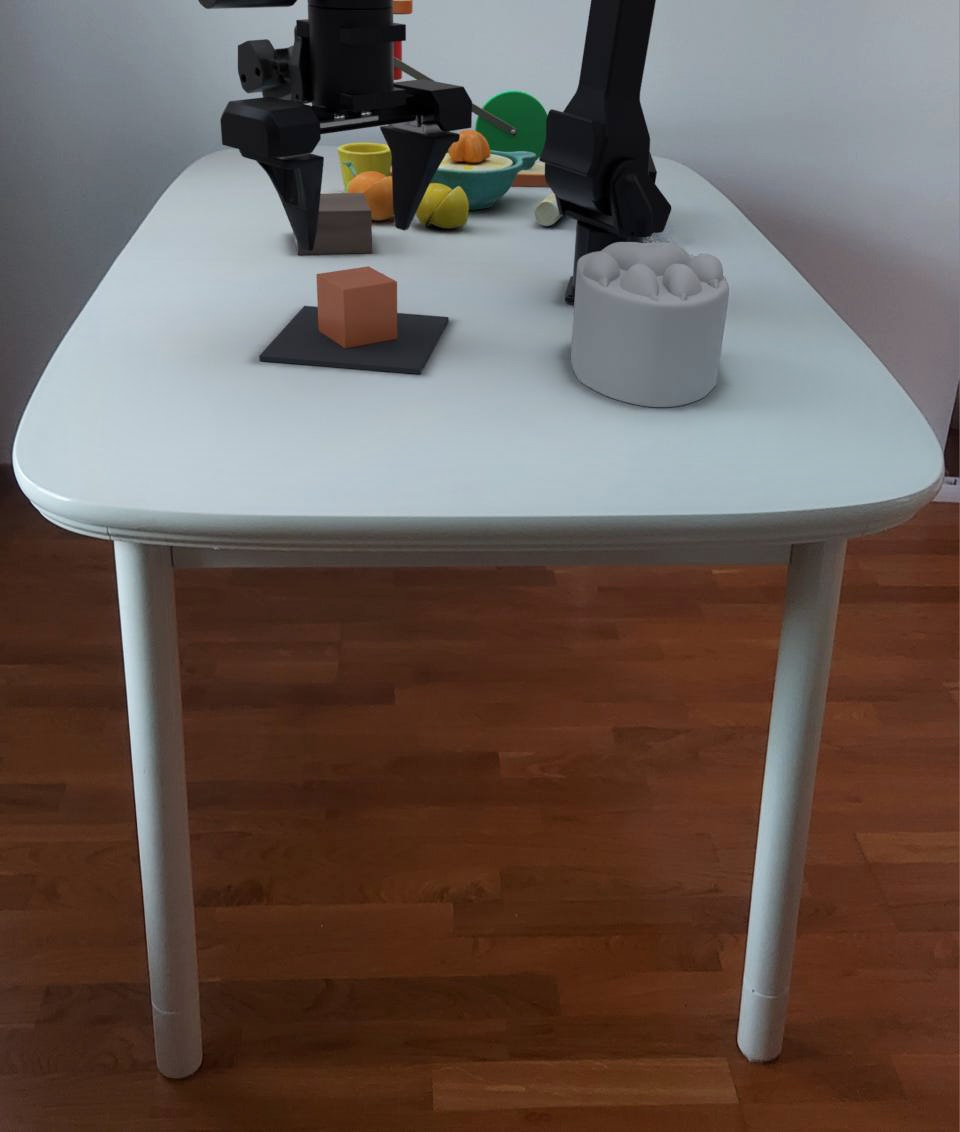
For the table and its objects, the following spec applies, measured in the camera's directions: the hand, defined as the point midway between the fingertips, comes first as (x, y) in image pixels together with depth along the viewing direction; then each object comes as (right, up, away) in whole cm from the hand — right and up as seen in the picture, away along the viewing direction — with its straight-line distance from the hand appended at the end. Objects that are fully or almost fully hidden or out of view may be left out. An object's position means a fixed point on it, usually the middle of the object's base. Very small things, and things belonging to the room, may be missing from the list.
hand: (355, 239), depth 87 cm
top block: (0, -6, +4) cm, 7 cm away
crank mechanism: (+7, +22, +54) cm, 58 cm away
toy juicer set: (+8, +14, +40) cm, 43 cm away
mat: (0, -7, +4) cm, 8 cm away
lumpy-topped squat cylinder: (+21, -10, 0) cm, 23 cm away
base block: (-5, +7, +27) cm, 29 cm away
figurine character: (+24, +12, +37) cm, 46 cm away
